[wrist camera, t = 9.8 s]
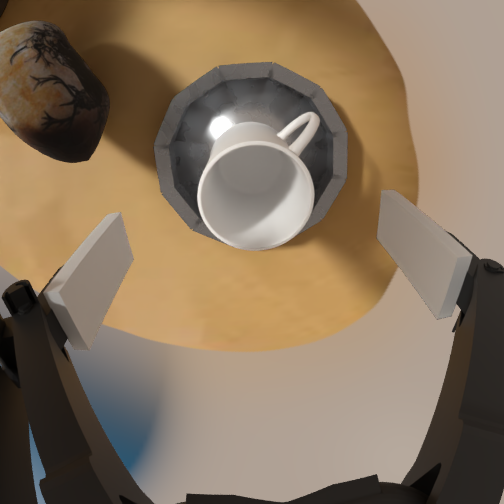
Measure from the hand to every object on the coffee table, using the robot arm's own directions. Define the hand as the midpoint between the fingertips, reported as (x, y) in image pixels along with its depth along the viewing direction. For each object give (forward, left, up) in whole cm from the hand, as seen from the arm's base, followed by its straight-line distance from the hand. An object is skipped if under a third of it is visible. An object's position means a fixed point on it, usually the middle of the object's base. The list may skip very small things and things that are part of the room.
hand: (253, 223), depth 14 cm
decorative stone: (-11, -17, -19) cm, 28 cm away
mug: (0, +2, -18) cm, 18 cm away
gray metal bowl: (0, +1, -19) cm, 19 cm away
